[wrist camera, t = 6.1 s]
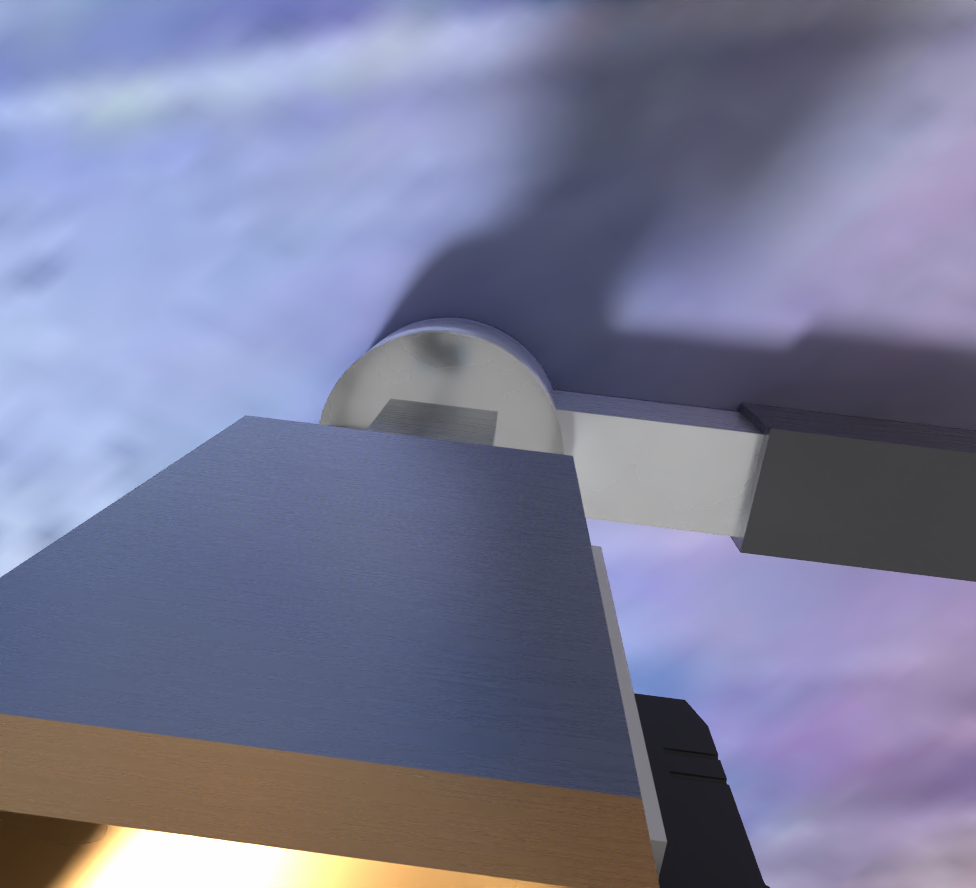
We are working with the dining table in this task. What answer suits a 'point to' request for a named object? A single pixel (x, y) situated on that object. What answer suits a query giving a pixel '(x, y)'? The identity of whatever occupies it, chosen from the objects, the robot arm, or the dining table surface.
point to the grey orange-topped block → (320, 677)
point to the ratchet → (686, 454)
